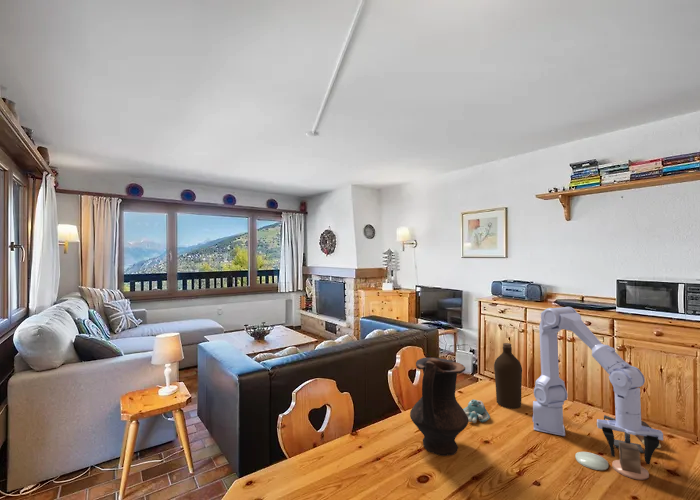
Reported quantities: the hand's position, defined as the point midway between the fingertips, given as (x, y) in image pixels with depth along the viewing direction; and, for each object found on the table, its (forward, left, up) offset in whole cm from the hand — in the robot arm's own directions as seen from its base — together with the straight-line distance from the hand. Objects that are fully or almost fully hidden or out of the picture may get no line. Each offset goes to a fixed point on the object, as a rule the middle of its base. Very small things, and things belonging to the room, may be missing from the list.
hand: (629, 458), depth 97 cm
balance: (+2, +15, -3) cm, 16 cm away
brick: (+8, +24, -4) cm, 26 cm away
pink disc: (0, 0, -3) cm, 3 cm away
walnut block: (0, 0, -3) cm, 3 cm away
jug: (-51, -14, -4) cm, 53 cm away
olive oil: (-34, +33, -4) cm, 48 cm away
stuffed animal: (-44, +13, -4) cm, 46 cm away
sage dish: (-9, 0, -3) cm, 10 cm away
